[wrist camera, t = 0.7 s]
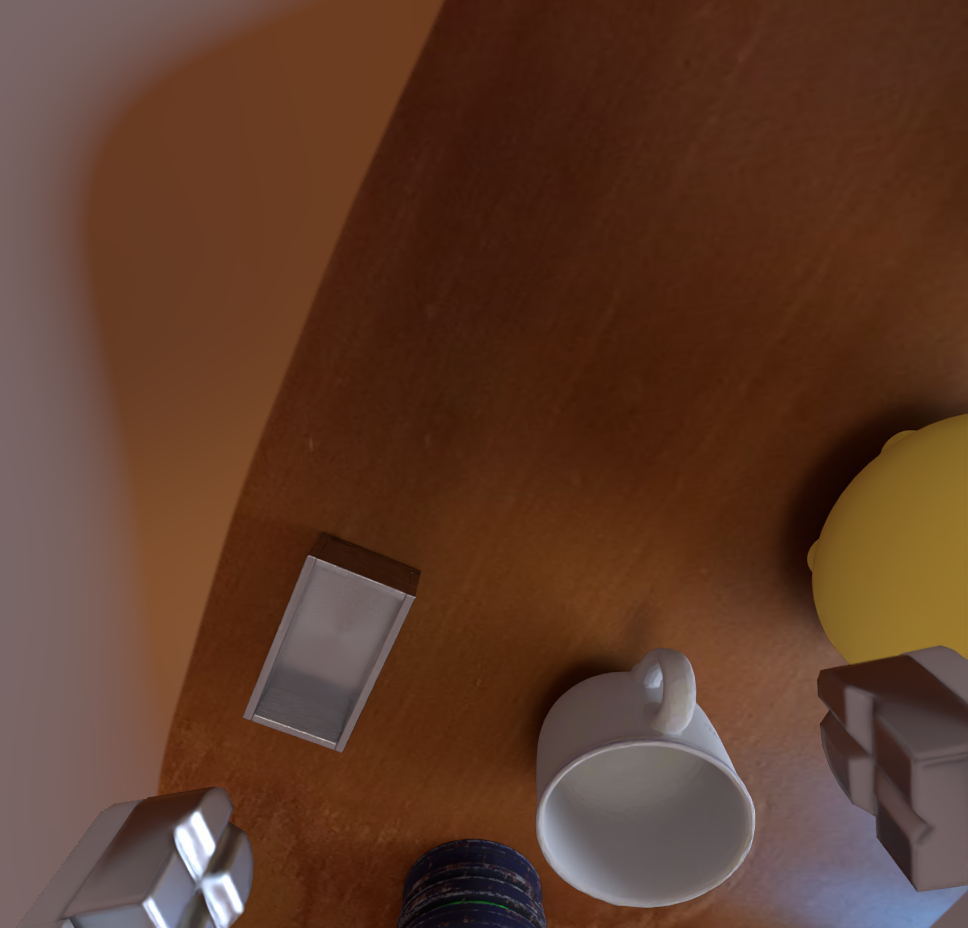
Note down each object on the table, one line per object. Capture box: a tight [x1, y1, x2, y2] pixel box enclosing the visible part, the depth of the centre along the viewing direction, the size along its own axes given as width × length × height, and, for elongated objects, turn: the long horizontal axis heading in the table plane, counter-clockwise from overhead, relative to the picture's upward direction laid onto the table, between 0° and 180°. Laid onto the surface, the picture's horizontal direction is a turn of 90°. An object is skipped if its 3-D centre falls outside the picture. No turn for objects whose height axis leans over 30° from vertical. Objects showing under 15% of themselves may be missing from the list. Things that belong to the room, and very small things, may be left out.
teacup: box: [535, 648, 756, 908], centre depth 32 cm, size 14×11×8 cm
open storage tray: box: [243, 533, 421, 753], centre depth 33 cm, size 11×6×3 cm, turn 156°
